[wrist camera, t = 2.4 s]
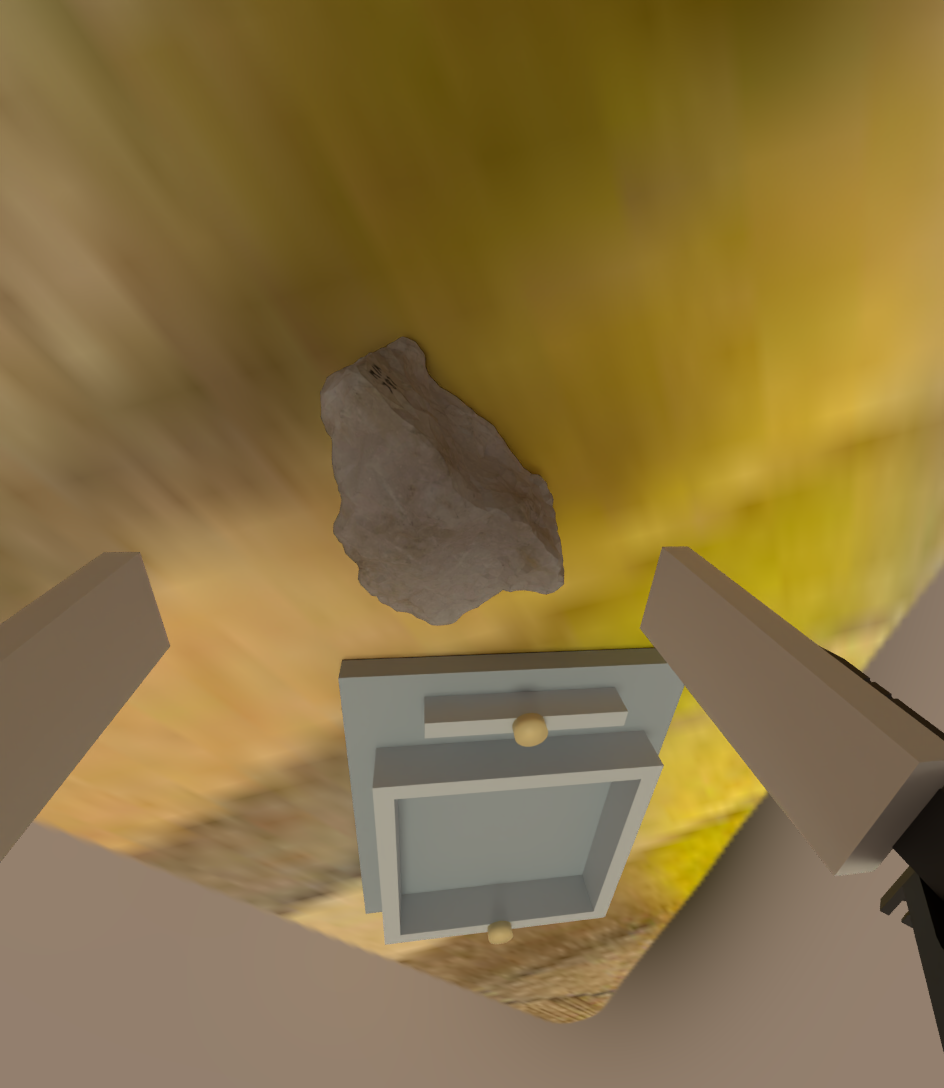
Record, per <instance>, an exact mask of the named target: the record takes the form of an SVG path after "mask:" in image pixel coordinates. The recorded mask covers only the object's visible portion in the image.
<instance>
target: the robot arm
mask: <svg viewBox="0 0 944 1088" xmlns="http://www.w3.org/2000/svg"><path fill="white" fill-rule="evenodd" d="M640 629H641V630H642V631H643V633H644V634H645V635H646V637H647V638H648V639H649V640H650V642H651V643H652V644H653V646H654V647H655V648H656V649H657V651H658V652H659V653H660V654H661V656H662V657H663V658H664V660H665V661H666V662H667V663H668V665H669V666H670V667H671V669H672V670H673V671H674V672H675V674H676V675H677V676H678V677H679V679H680V680H681V681H682V683H683V684H684V685H685V686H686V688H687V689H688V690H689V692H690V693H691V694H692V695H693V697H694V698H695V699H696V700H697V702H698V703H699V704H700V706H701V707H702V708H703V709H704V711H705V712H706V713H707V715H708V716H709V717H710V718H711V720H712V721H713V722H714V723H715V725H716V726H717V727H718V729H719V730H720V731H721V732H722V734H723V735H724V736H725V738H726V739H727V740H728V741H729V743H730V744H731V745H732V746H733V748H734V749H735V750H736V752H737V753H738V754H739V755H740V757H741V758H742V759H743V760H744V762H745V763H746V764H747V766H748V767H749V768H750V769H751V771H752V772H753V773H754V775H755V776H756V777H757V778H758V780H759V781H760V782H761V783H762V785H763V786H764V787H765V789H766V790H767V791H768V792H769V794H770V795H771V796H772V798H773V799H774V800H775V801H776V802H777V804H778V805H779V806H780V808H781V809H782V810H783V812H784V813H785V814H786V815H787V816H788V818H789V819H790V821H791V822H792V823H793V824H794V826H795V827H796V828H797V829H798V831H799V832H800V833H801V835H802V836H803V837H804V838H805V840H806V841H807V842H808V843H809V845H810V846H811V847H812V849H813V850H814V851H815V852H816V854H817V855H818V856H819V858H820V859H821V860H822V861H823V863H824V864H825V865H826V867H827V868H828V869H829V870H830V872H831V873H832V874H833V875H834V876H841V875H849V874H856V873H864V872H871V871H875V870H876V869H877V867H878V866H879V865H880V864H881V863H882V861H883V860H884V859H885V858H886V856H887V855H888V854H889V853H890V851H891V850H892V849H894V850H895V851H896V852H897V853H898V854H899V855H900V856H901V857H902V858H903V859H904V860H905V861H906V863H907V864H908V865H909V867H908V868H907V869H906V871H905V872H904V873H903V874H902V875H901V876H900V877H899V879H898V880H897V881H896V882H895V883H894V884H893V886H892V887H891V888H890V889H889V890H888V891H887V892H886V894H885V895H884V896H883V897H882V898H881V903H880V911H881V912H883V913H885V914H887V915H890V913H891V912H892V911H893V910H894V909H895V908H896V907H897V906H898V905H899V904H900V903H901V901H902V900H903V901H906V902H907V906H908V910H909V911H908V912H907V913H906V914H905V915H904V917H903V918H902V923H904V924H906V925H908V926H910V927H912V928H913V930H914V934H915V938H916V942H917V946H918V950H919V954H920V958H921V962H922V966H923V970H924V974H925V978H926V982H927V986H928V990H929V995H930V999H931V1003H932V1006H933V1011H934V1015H935V1019H936V1023H937V1027H938V1031H939V1035H940V1039H941V1043H942V1047H943V1051H944V733H943V732H942V731H940V730H939V729H938V728H936V727H935V726H934V725H932V724H931V723H930V722H928V721H927V720H925V719H924V718H923V717H921V716H920V715H919V714H917V713H916V712H915V711H913V710H912V709H911V708H909V707H908V706H906V705H905V704H904V703H903V702H901V701H900V700H899V699H893V698H892V696H891V693H889V692H888V691H887V690H885V689H884V688H883V687H881V686H880V685H878V684H877V683H876V682H871V681H870V678H869V677H868V676H866V675H865V674H864V673H862V672H861V671H860V670H858V669H857V668H856V667H854V666H853V665H852V664H850V663H849V662H848V661H846V660H845V659H843V658H841V657H839V656H837V655H836V654H834V653H832V652H830V651H828V650H826V649H824V648H822V647H820V646H818V645H817V644H816V643H814V642H813V641H812V640H810V639H809V638H808V637H806V636H805V635H804V634H802V633H801V632H800V631H799V630H797V629H796V628H795V627H793V626H792V625H791V624H789V623H788V622H787V621H785V620H784V619H783V618H781V617H780V616H779V615H777V614H776V613H775V612H773V611H772V610H771V609H770V608H768V607H767V606H766V605H764V604H763V603H762V602H760V601H759V600H758V599H756V598H755V597H754V596H752V595H751V594H750V593H748V592H747V591H746V590H744V589H743V588H742V587H741V586H739V585H738V584H737V583H735V582H734V581H733V580H731V579H730V578H729V577H727V576H726V575H725V574H723V573H722V572H721V571H719V570H718V569H717V568H715V567H714V566H713V565H712V564H710V563H709V562H708V561H706V560H705V559H704V558H702V557H701V556H700V555H698V554H697V553H696V552H694V551H693V550H692V549H690V548H689V547H662V550H661V554H660V557H659V561H658V564H657V568H656V572H655V575H654V579H653V583H652V586H651V590H650V594H649V597H648V601H647V605H646V608H645V612H644V616H643V619H642V623H641V627H640ZM169 647H170V644H169V641H168V638H167V635H166V631H165V628H164V625H163V622H162V619H161V616H160V613H159V610H158V607H157V604H156V600H155V597H154V594H153V591H152V588H151V585H150V582H149V579H148V576H147V573H146V569H145V566H144V563H143V560H142V557H141V554H140V552H104V553H102V554H101V555H99V556H98V557H96V558H95V559H93V560H92V561H91V562H89V563H88V564H86V565H85V566H83V567H82V568H81V569H79V570H78V571H76V572H75V573H73V574H72V575H70V576H69V577H68V578H66V579H65V580H63V581H62V582H60V583H59V584H58V585H56V586H55V587H53V588H52V589H50V590H49V591H47V592H46V593H45V594H43V595H42V596H40V597H39V598H37V599H36V600H35V601H33V602H32V603H30V604H29V605H27V606H26V607H24V608H23V609H22V610H20V611H19V612H17V613H16V614H14V615H13V616H12V617H10V618H9V619H7V620H6V621H4V622H3V623H1V624H0V862H1V861H2V860H3V858H4V857H5V856H6V855H7V853H8V852H9V851H10V850H11V848H12V847H13V846H14V844H15V843H16V842H17V841H18V839H19V838H20V837H21V835H22V834H23V833H24V832H25V830H26V829H27V827H29V825H30V824H31V823H32V821H33V820H34V819H35V818H36V816H37V815H38V814H39V813H40V811H41V810H42V809H43V807H44V806H45V805H46V804H47V802H48V801H49V800H50V799H51V797H52V796H53V795H54V793H55V792H56V791H57V790H58V788H59V787H60V786H61V785H62V783H63V782H64V781H65V779H66V778H67V777H68V776H69V774H70V773H71V772H72V771H73V769H74V768H75V767H76V765H77V764H78V763H79V762H80V760H81V759H82V758H83V757H84V755H85V754H86V753H87V751H88V750H89V749H90V748H91V746H92V745H93V744H94V743H95V741H96V740H97V739H98V737H99V736H100V735H101V734H102V732H103V731H104V730H105V728H106V727H107V726H108V725H109V723H110V722H111V721H112V720H113V718H114V717H115V716H116V714H117V713H118V712H119V711H120V709H121V708H122V707H123V706H124V704H125V703H126V702H127V700H128V699H129V698H130V697H131V695H132V694H133V693H134V692H135V690H136V689H137V688H138V686H139V685H140V684H141V683H142V681H143V680H144V679H145V678H146V676H147V675H148V674H149V672H150V671H151V670H152V669H153V667H154V666H155V665H156V664H157V662H158V661H159V660H160V658H161V657H162V656H163V655H164V653H165V652H166V651H167V650H168V648H169Z"/></svg>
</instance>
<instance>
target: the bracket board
mask: <svg viewBox="0 0 944 1088" xmlns="http://www.w3.org/2000/svg"><path fill="white" fill-rule="evenodd" d="M338 679H339V687H340V696H341V704H342V713H343V721H344V730H345V739H346V747H347V756H348V764H349V773H350V781H351V790H352V799H353V807H354V816H355V824H356V833H357V842H358V850H359V859H360V867H361V876H362V884H363V893H364V902H365V910H366V914H367V913H376V912H383V925H384V937H385V945H386V944H394V943H402V942H410V941H418V940H426V939H434V938H442V937H450V936H458V935H466V934H474V933H482V932H488V938H489V942H490V943H492V944H502V943H506V942H508V941H510V940H511V939H512V938H513V934H512V929H514V928H522V927H530V926H538V925H546V924H554V923H562V922H570V921H578V920H586V919H594V918H602V917H605V915H606V913H607V910H608V907H609V905H610V902H611V900H612V897H613V895H614V892H615V889H616V887H617V884H618V882H619V879H620V876H621V874H622V871H623V869H624V866H625V864H626V861H627V858H628V856H629V853H630V851H631V848H632V846H633V843H634V840H635V838H636V835H637V833H638V830H639V828H640V825H641V822H642V820H643V817H644V815H645V812H646V810H647V807H648V804H649V802H650V799H651V797H652V794H653V792H654V789H655V786H656V784H657V781H658V779H659V776H660V774H661V771H662V768H663V766H664V765H663V764H662V762H661V760H660V758H659V756H658V755H659V752H660V749H661V746H662V744H663V741H664V738H665V736H666V733H667V730H668V728H669V725H670V722H671V720H672V717H673V714H674V712H675V709H676V706H677V704H678V701H679V698H680V696H681V693H682V690H683V688H684V684H683V683H682V681H681V680H680V679H679V677H678V676H677V675H676V674H675V672H674V671H673V670H672V669H671V667H670V666H669V665H668V663H667V662H666V661H665V660H664V658H663V657H662V656H661V654H660V653H659V652H658V651H657V649H656V648H642V649H617V650H592V651H566V652H541V653H516V654H490V655H465V656H440V657H414V658H389V659H364V660H342V664H341V669H340V673H339V678H338Z"/></svg>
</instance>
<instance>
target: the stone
mask: <svg viewBox="0 0 944 1088" xmlns="http://www.w3.org/2000/svg"><path fill="white" fill-rule="evenodd" d="M425 360H426V358H425V355H424V353H423V352H422V350H421V349H420V348H419V346H418V345H417V344H416V342H414V341H412V340H410V339H408V338H405V337H400V338H399V339H397V340H396V341H394V342H392V343H391V344H389V345H387V347H386V348H380V349H379V350H377V351H376V352H373V353H369V354H368V355H366V356H365V357H362V358H360V359H359V360H358V361H357V362H355V363H354V364H352V365H350V366H347V367H345V368H343V369H341V370H339V371H337V372H335V373H333V374H331V375H330V376H328V377H327V379H326V382H325V384H324V386H323V388H322V390H321V392H320V395H321V419H322V421H323V423H324V425H325V428H326V432H327V433H328V434H329V436H330V437H331V439H332V465H333V471H334V476H335V479H336V482H337V484H338V491H339V492H340V494H341V499H342V500H341V507H340V513H339V514H338V516H337V518H336V520H335V522H334V527H333V533H334V535H335V536H336V537H337V539H338V541H339V542H341V543H342V544H343V547H344V550H345V553H346V554H347V555H348V556H349V557H350V558H351V559H352V560H353V561H354V562H355V563H357V565H358V567H359V574H358V580H359V582H360V585H362V586H363V587H364V588H365V589H366V590H367V591H368V592H369V593H370V594H371V595H372V596H377V598H378V599H379V601H380V602H381V603H383V604H386V605H388V606H390V607H392V608H393V609H394V610H396V611H399V612H408V613H411V614H413V615H414V616H415V617H417V618H419V619H422V620H424V621H426V622H427V623H429V624H431V625H447V624H452V623H455V622H456V621H457V620H458V619H459V618H460V617H461V615H462V614H464V613H466V612H467V611H469V610H471V609H474V608H477V607H479V606H480V605H481V604H482V603H484V602H485V601H487V600H488V599H490V598H491V597H493V596H494V595H496V594H498V593H499V592H501V591H502V590H505V591H509V592H512V591H516V590H527V591H534V592H538V593H541V594H549V593H553V592H555V591H556V590H558V589H559V588H560V587H561V586H562V585H563V584H564V568H563V556H562V549H561V541H560V537H559V535H558V532H557V529H558V527H557V523H556V520H555V511H554V509H553V507H552V506H553V496H552V494H551V493H550V491H549V490H548V488H547V483H546V482H545V481H544V479H543V478H542V477H541V476H540V475H537V474H531V473H530V472H528V471H527V470H526V469H524V468H523V467H522V465H521V464H520V462H519V461H518V459H517V458H516V457H515V456H514V455H513V453H512V452H511V451H510V449H509V448H508V447H507V445H506V443H505V441H504V440H503V438H502V437H501V436H500V435H499V434H498V432H497V430H496V428H495V427H494V426H493V425H492V424H490V423H489V422H488V421H486V420H485V419H484V418H482V417H480V416H479V415H477V414H475V412H474V411H473V410H472V409H471V408H469V407H468V406H466V405H465V404H464V403H463V402H462V401H461V400H460V399H458V398H457V397H456V396H454V395H453V394H451V393H449V392H448V391H446V390H444V389H442V388H441V387H439V386H438V385H437V384H436V382H435V381H434V380H433V379H432V378H431V377H430V376H429V374H428V372H427V369H426V367H425Z"/></svg>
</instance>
